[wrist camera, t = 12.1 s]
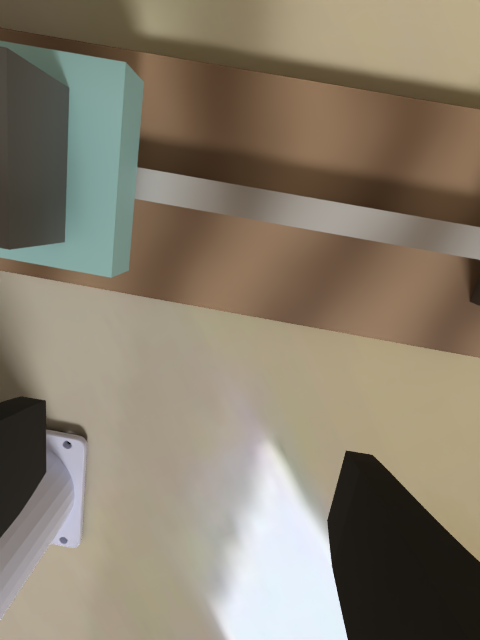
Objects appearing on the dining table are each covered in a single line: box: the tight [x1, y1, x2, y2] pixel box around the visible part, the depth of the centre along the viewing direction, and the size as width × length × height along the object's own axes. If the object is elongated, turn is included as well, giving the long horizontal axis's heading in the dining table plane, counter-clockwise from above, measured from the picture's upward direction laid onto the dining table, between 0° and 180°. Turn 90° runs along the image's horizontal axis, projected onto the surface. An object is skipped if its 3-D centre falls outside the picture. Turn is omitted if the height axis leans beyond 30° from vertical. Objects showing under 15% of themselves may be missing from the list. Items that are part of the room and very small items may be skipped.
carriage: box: [0, 41, 144, 278], centre depth 12 cm, size 6×7×5 cm
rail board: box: [0, 28, 480, 358], centre depth 15 cm, size 30×10×4 cm, turn 80°
